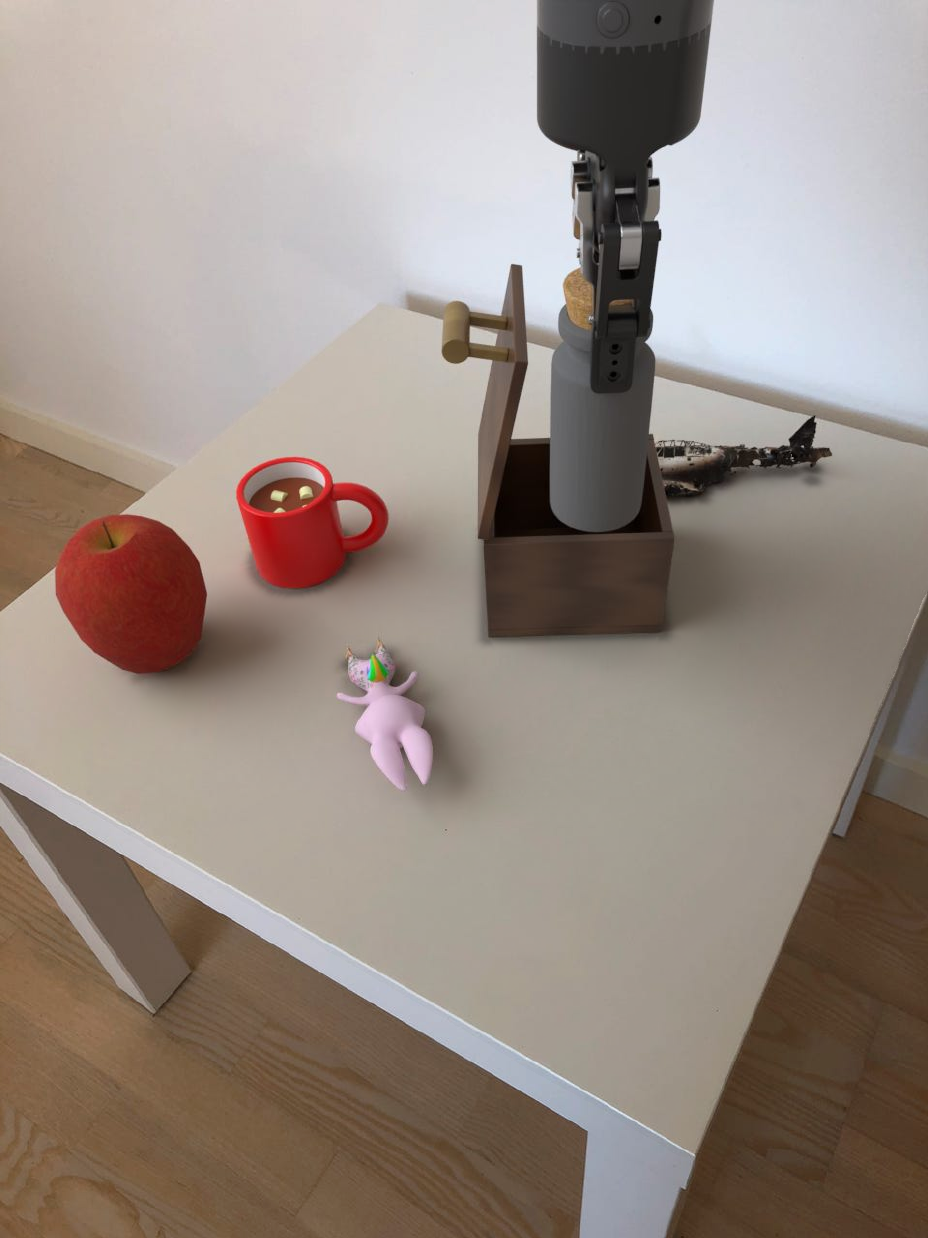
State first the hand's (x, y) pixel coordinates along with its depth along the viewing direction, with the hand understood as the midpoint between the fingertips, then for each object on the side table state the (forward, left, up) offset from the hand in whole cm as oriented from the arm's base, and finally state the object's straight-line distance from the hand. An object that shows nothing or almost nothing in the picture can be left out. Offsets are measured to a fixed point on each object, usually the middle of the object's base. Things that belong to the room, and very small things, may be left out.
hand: (604, 356), depth 53 cm
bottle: (0, 0, -11) cm, 11 cm away
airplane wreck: (-14, -21, -27) cm, 37 cm away
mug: (+22, -13, -27) cm, 37 cm away
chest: (+1, -9, -27) cm, 28 cm away
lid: (+6, -9, -9) cm, 14 cm away
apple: (+34, -2, -27) cm, 43 cm away
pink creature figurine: (+15, +5, -27) cm, 31 cm away
